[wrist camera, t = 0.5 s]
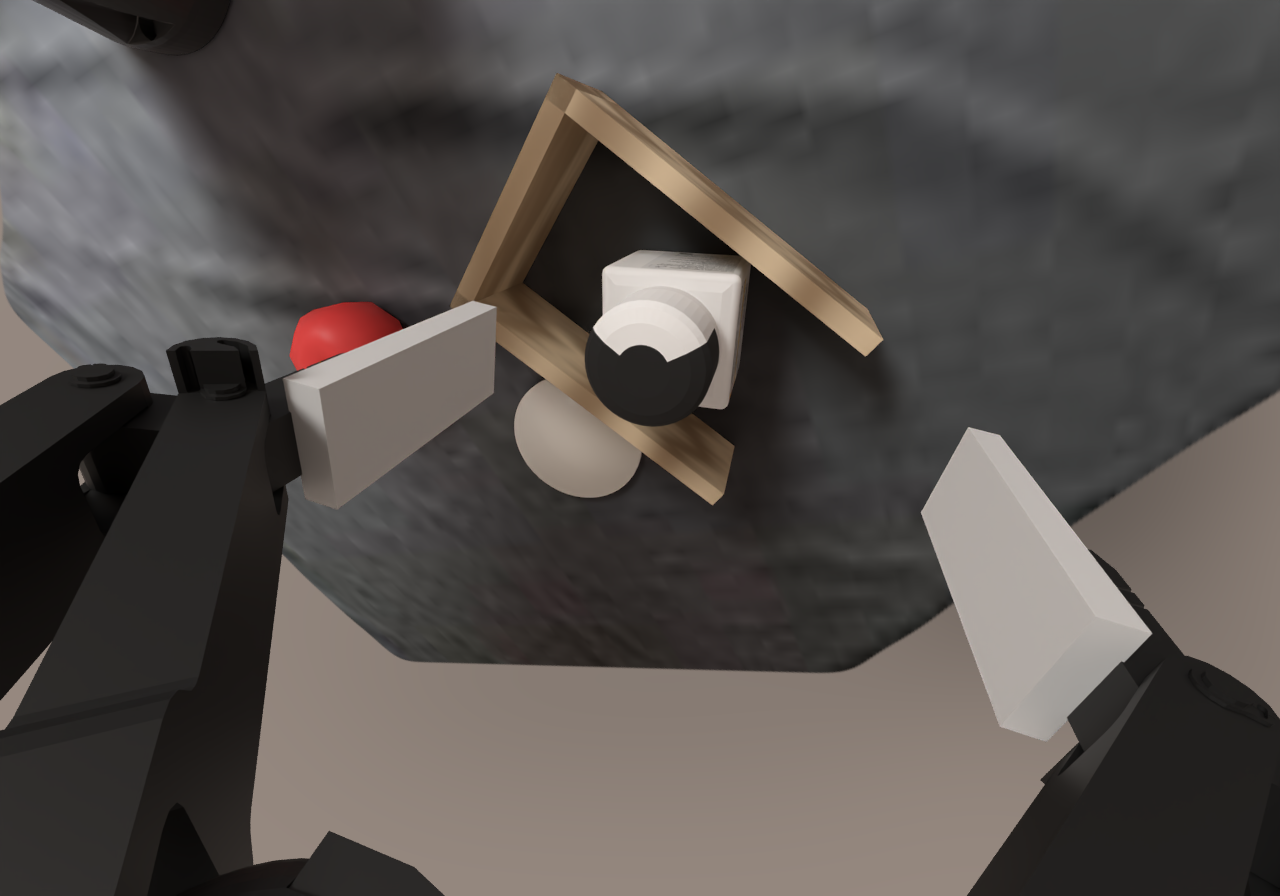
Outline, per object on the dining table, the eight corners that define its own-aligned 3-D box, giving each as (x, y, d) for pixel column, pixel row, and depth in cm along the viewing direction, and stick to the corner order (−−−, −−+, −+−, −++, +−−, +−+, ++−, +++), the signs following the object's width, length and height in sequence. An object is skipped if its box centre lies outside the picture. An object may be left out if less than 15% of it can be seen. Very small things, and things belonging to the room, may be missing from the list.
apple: (423, 302, 42) (349, 328, 35) (428, 394, 46) (363, 433, 39) (335, 282, 43) (248, 303, 36) (347, 372, 47) (271, 407, 40)
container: (739, 369, 38) (715, 453, 26) (634, 358, 39) (570, 433, 28) (752, 255, 34) (730, 297, 23) (636, 248, 36) (563, 284, 24)
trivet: (496, 441, 46) (493, 444, 45) (556, 346, 40) (552, 348, 40) (597, 516, 47) (595, 519, 46) (669, 432, 41) (667, 435, 41)
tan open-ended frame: (502, 285, 39) (449, 306, 33) (601, 91, 32) (556, 72, 26) (724, 456, 41) (712, 505, 35) (867, 309, 34) (883, 339, 28)
